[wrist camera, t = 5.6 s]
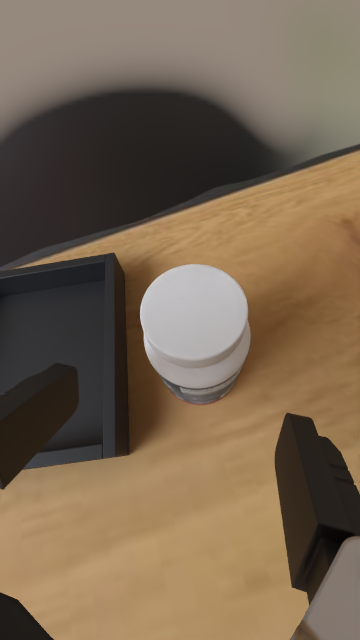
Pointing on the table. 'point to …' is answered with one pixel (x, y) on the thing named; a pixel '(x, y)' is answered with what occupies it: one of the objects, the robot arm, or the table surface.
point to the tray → (71, 349)
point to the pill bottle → (196, 331)
